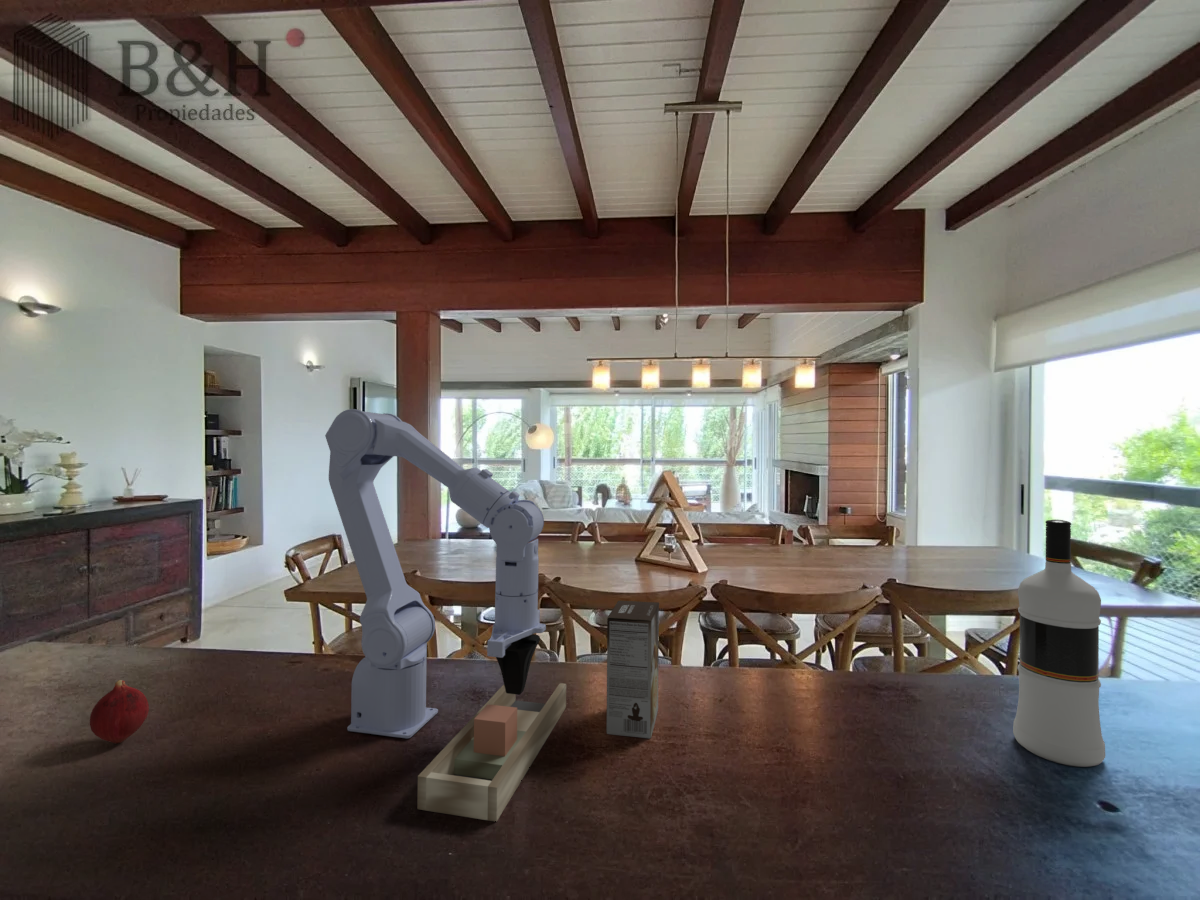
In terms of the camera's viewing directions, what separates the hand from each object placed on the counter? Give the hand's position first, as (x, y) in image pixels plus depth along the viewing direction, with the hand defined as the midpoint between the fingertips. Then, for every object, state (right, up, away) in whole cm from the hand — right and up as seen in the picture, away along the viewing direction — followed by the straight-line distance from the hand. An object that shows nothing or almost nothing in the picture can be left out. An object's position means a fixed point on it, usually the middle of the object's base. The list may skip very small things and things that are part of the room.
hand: (514, 692), depth 75 cm
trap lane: (-1, -6, -4) cm, 7 cm away
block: (-1, -4, -7) cm, 8 cm away
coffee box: (+16, -6, +4) cm, 18 cm away
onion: (-51, -5, -3) cm, 51 cm away
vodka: (+71, -7, -3) cm, 71 cm away
